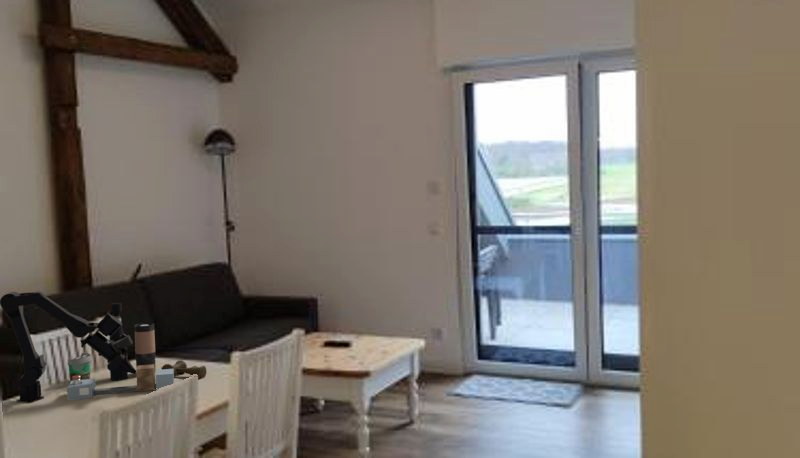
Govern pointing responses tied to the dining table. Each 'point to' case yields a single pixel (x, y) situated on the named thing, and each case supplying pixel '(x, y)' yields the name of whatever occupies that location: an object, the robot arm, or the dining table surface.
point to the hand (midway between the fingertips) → (135, 372)
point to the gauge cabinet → (81, 389)
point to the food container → (80, 366)
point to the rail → (116, 390)
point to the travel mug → (145, 344)
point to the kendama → (186, 369)
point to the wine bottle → (116, 310)
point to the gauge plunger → (76, 380)
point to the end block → (164, 377)
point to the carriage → (145, 377)
